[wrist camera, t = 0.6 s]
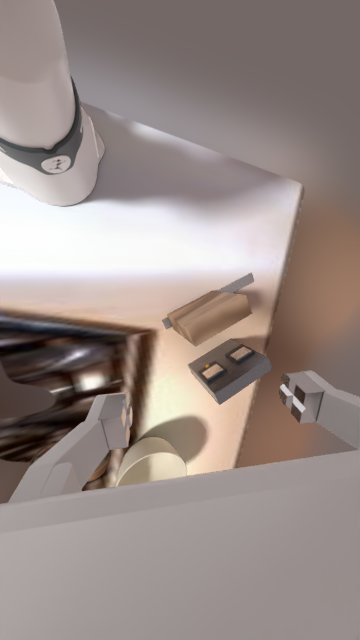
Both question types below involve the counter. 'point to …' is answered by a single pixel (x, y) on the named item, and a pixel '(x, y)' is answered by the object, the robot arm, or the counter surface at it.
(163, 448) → the bowl
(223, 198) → the counter surface
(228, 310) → the brown flat angular block
